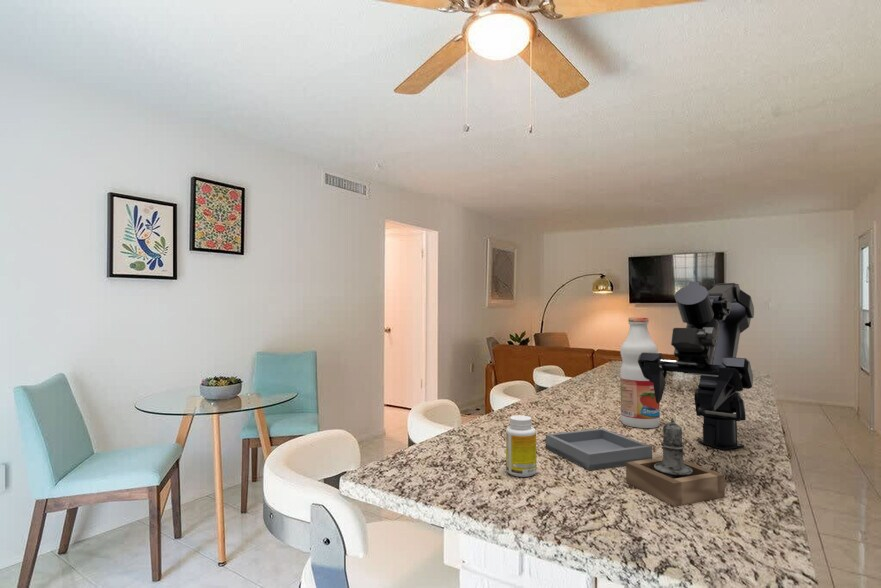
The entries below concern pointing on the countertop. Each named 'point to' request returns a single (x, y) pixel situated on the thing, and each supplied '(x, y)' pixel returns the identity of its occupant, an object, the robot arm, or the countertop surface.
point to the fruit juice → (637, 379)
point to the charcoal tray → (597, 448)
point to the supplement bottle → (521, 447)
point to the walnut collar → (675, 482)
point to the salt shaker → (673, 453)
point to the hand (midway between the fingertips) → (684, 405)
